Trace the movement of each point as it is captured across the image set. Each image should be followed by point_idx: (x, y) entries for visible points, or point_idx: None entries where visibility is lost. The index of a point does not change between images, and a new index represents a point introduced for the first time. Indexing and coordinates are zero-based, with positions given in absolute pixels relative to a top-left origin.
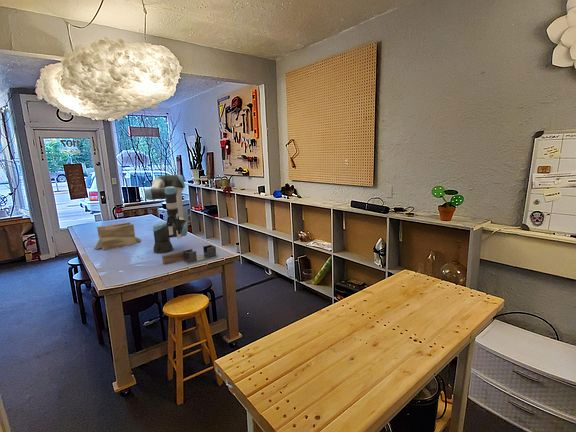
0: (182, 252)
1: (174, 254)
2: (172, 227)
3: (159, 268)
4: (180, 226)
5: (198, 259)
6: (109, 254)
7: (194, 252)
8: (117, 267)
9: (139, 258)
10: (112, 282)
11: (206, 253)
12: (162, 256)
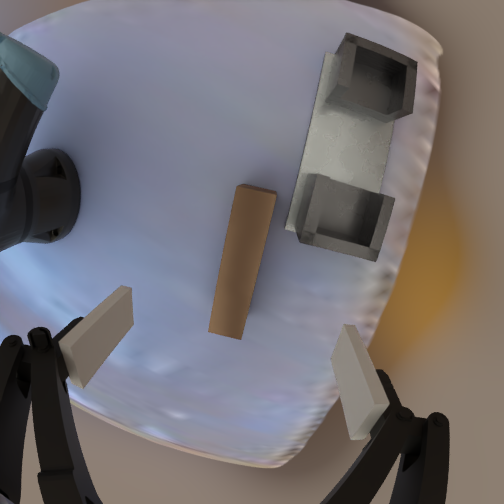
0: (264, 223)
1: (254, 281)
2: (81, 335)
3: (274, 353)
4: (440, 451)
5: (366, 176)
6: (10, 329)
7: (389, 211)
8: (131, 399)
9: None
10: (255, 453)
11: (373, 111)
12: (217, 332)
